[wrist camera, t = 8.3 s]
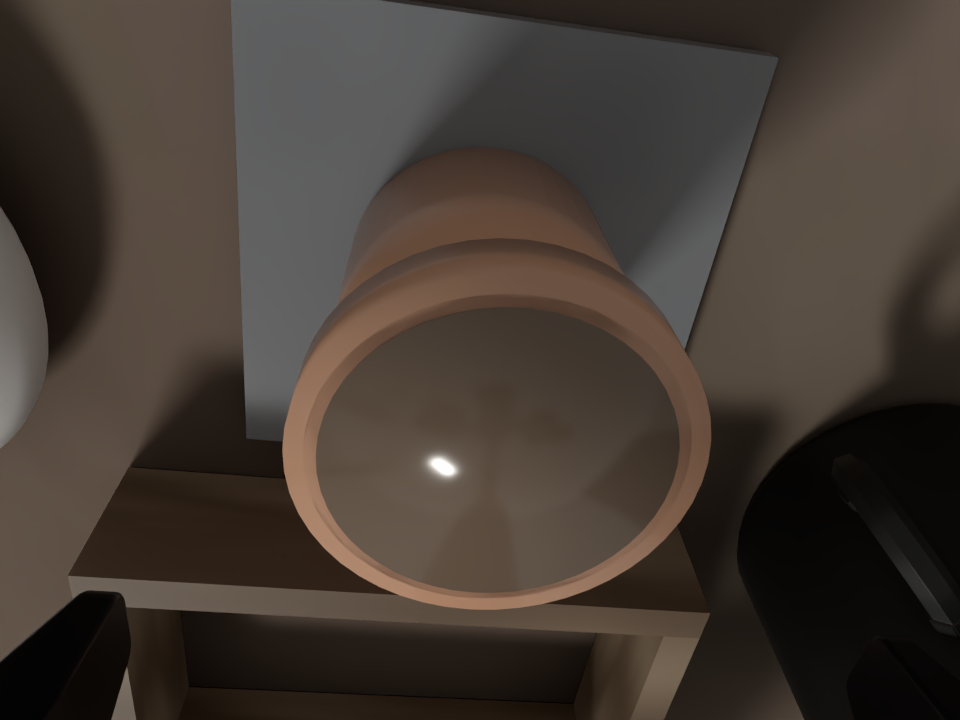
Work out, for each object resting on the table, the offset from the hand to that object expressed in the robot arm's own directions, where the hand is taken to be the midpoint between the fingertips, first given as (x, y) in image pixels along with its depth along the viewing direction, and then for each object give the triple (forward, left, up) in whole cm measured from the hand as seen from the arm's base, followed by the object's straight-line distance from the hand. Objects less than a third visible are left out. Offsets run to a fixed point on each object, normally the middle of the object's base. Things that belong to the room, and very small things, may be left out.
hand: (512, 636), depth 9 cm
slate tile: (0, 0, -11) cm, 11 cm away
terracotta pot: (0, 0, -10) cm, 10 cm away
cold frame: (-13, +1, -11) cm, 17 cm away
